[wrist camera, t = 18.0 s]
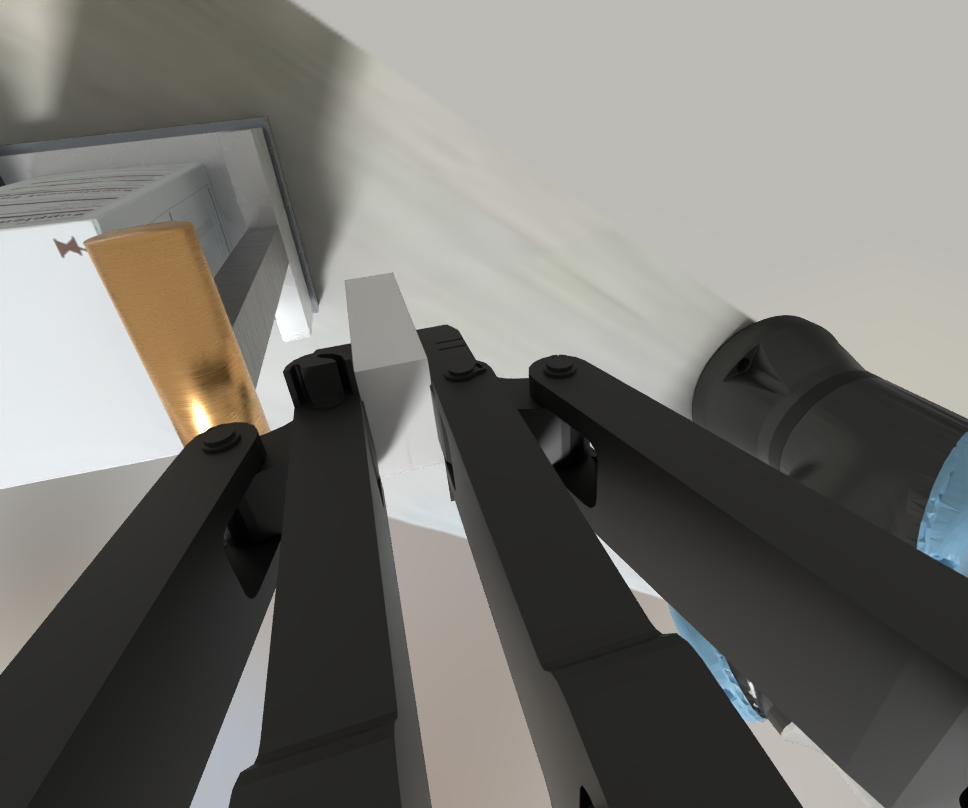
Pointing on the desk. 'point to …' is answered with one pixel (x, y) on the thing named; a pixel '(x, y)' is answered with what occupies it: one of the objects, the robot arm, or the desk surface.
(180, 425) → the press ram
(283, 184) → the press bed
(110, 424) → the supplement box
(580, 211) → the desk surface
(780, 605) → the robot arm
